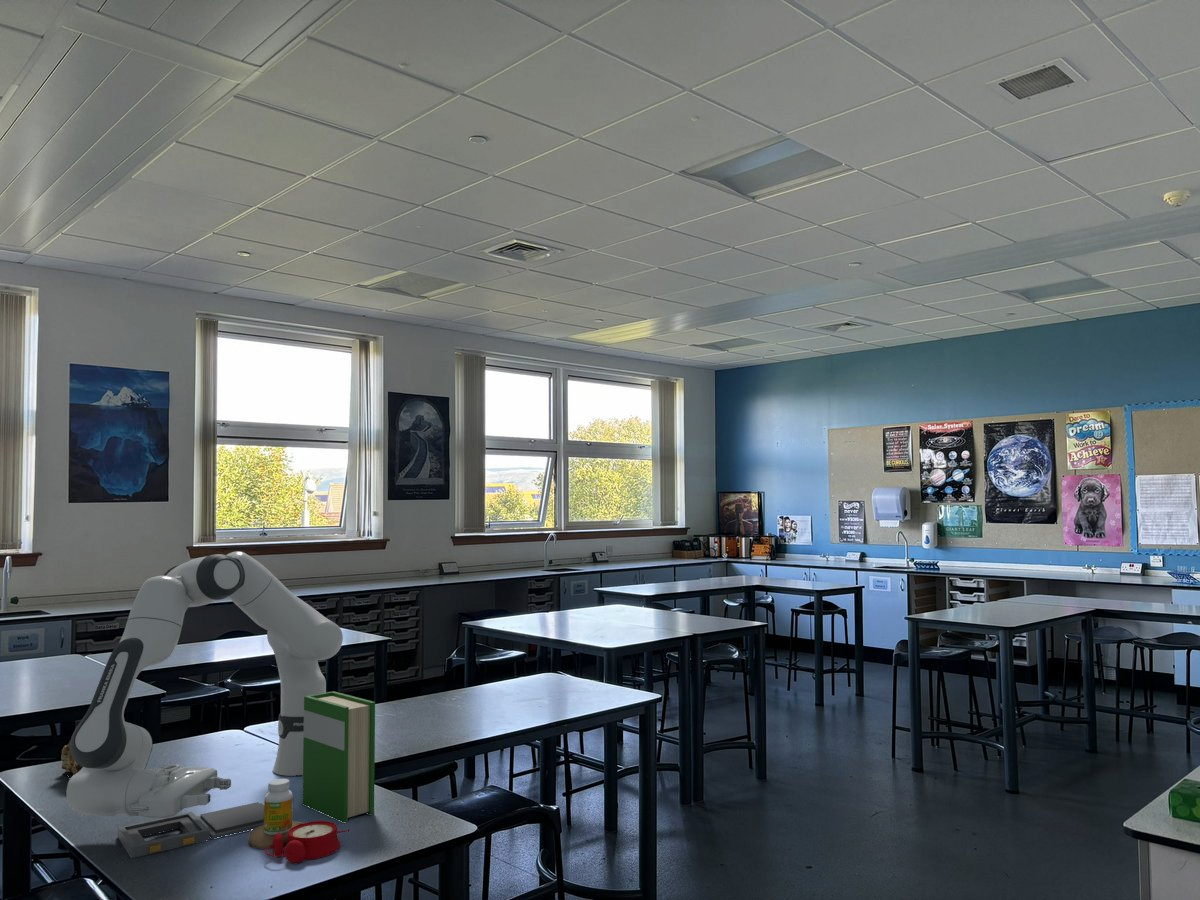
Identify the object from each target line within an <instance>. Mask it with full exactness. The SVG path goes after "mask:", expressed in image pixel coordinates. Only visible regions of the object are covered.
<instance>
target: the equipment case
mask: <svg viewBox="0 0 1200 900" xmlns="http://www.w3.org/2000/svg"><path fill="white" fill-rule="evenodd" d="M262 825H264V803H262V802H258V801H256V802H252V803H248V804H244V805H243V804H242V805H239V806H233V807H229V808H224V809H219V810H214V811H210V812H205V813H201V814H200V815H197V816H196V814H195V813H194V812H193V811H188V812H184V813H179V814H176V815H174V816H172V817H167V818H155V819H151V820H146V821H141V822H137V823H132V824H127V825H122V826H118V827H117V838H118V840H119V841H120V843H121V844H122V846H123V848H124V849H125V850H126V852H127V853H128V855H129V856H130V858H131V859H134V858H140V857H143V856H147V855H148V856H149V855H151V854H156V853H161V852H164V851H169V850H174V849H177V848H183V847H186V846H187V847H188V846H191V845H195V844H194V843H196V844H199V843H198V842H200V843H203V842H202V841H204V842H207V841H206V840H209V841H210V839H211V838H212V839H213V840H215V839H214V838H217V837H221V836H225V835H230V834H234V833H239V832H243V831H247V830H251V829H255V828H257V827H259V826H262ZM177 828H181V829H180V830H181V832H182V831H183V832H184V833H183V832H182V833H179V834H175V835H169V836H166V837H161V838H157V839H152V840H148V841H146V840H145V839H144V837H146V836H145V835H148V836H151V835H150V834H153V835H155V834H154V833H157V834H160V833H159V832H162V833H164V832H163V831H167V832H169V831H168V830H171V831H173V830H172V829H176V830H178V829H177ZM243 833H244V832H243ZM239 834H240V833H239ZM142 836H144V837H142ZM209 836H210V837H211V838H210V837H209ZM230 836H231V835H230ZM212 839H211V840H212ZM217 839H218V838H217ZM190 844H191V845H190Z"/></svg>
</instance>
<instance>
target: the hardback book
mask: <svg viewBox="0 0 1200 900" xmlns="http://www.w3.org/2000/svg"><path fill="white" fill-rule="evenodd" d="M375 739H376V702H375V701H372V700H368V699H365V698H361V697H357V696H353V695H350V694H346V693H342V692H337V691H334V690H333V691H326V693H321V694H315V695H310V696H304V739H303V776H302V804H304V805H306V806H309V807H310V808H309V807H308V808H309V809H311V808H313V809H315V810H317V811H320V812H322V813H324V814H326V815H329V816H331V817H333V818H335V819H337V820H340V821H342V822H346V823H348V818H351V817H355V816H358V815H359V816H360V815H361V814H366V813H368V814H373V815H375V774H376V773H375V769H376V768H375V766H376V765H375V764H376V763H375V761H376V760H375V759H376V758H375V757H376V756H375V754H376V751H375V750H376V745H375V744H376V740H375ZM304 805H303V806H304ZM306 806H305V807H306ZM313 809H312V810H313ZM315 810H314V811H315ZM317 811H316V812H317ZM320 812H319V813H320ZM322 813H321V814H322ZM324 814H323V815H324ZM368 814H367V815H368ZM326 815H325V816H326ZM331 817H330V818H331ZM333 818H332V819H333ZM335 819H334V820H335ZM337 820H336V821H337ZM342 822H341V823H342Z"/></svg>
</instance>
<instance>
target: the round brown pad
mask: <svg viewBox="0 0 1200 900" xmlns="http://www.w3.org/2000/svg"><path fill="white" fill-rule="evenodd" d="M302 823H303V822H301V821H294V820H292V828H293V827H294V826H297V825H299V824H302ZM281 835H282V840H283V846H286V845H287V842H288V832H287V833H284V834H281ZM274 836H275V835H268V834H266V833H265V832H264V825H262V826H259V827H257V828H255V829H253V830H252V831H249V832H248V845H249V844H250V845H251V846H250V845H249V846H250V847H252V848H254V847H255V849H259V848H260V849H259V850H266V849H268V848H270V845H273V838H274ZM270 850H273V848H271V849H270Z"/></svg>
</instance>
